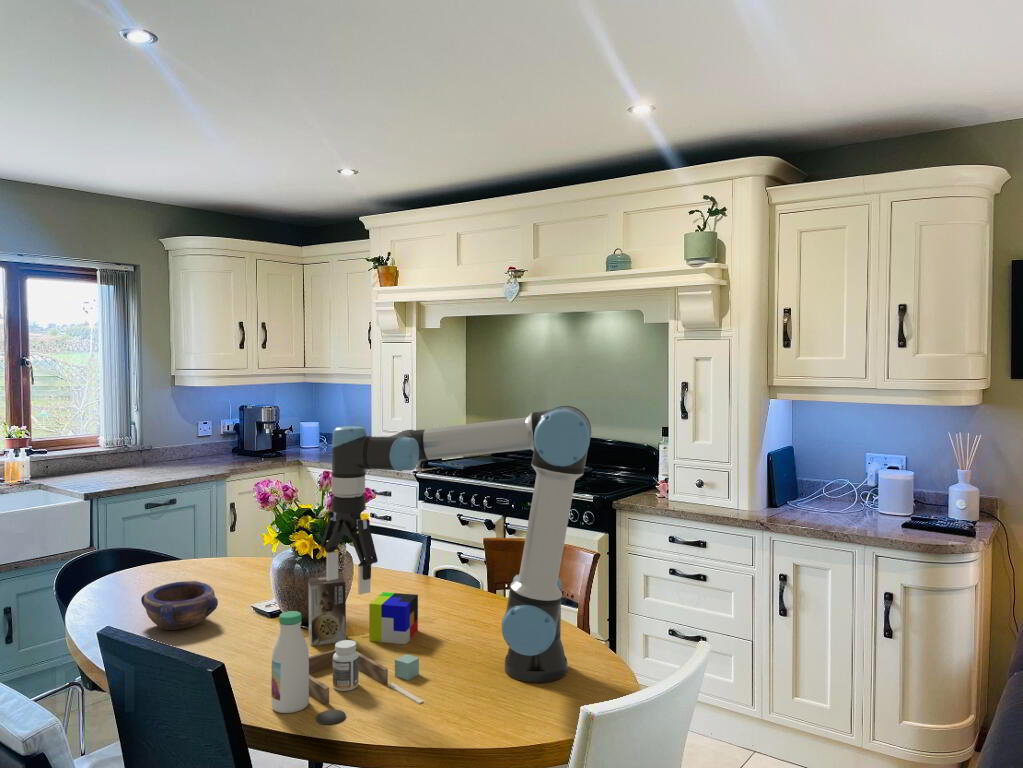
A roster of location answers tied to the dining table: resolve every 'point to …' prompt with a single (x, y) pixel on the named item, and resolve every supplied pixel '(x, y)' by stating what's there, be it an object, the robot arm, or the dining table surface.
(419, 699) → the strip
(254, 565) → the dining table surface
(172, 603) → the bowl
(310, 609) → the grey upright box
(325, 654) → the cubby
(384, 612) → the puzzle toy
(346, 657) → the pill bottle
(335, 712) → the drain disc
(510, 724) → the dining table surface
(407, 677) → the teal block
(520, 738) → the dining table surface
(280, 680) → the milk bottle
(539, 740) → the dining table surface
